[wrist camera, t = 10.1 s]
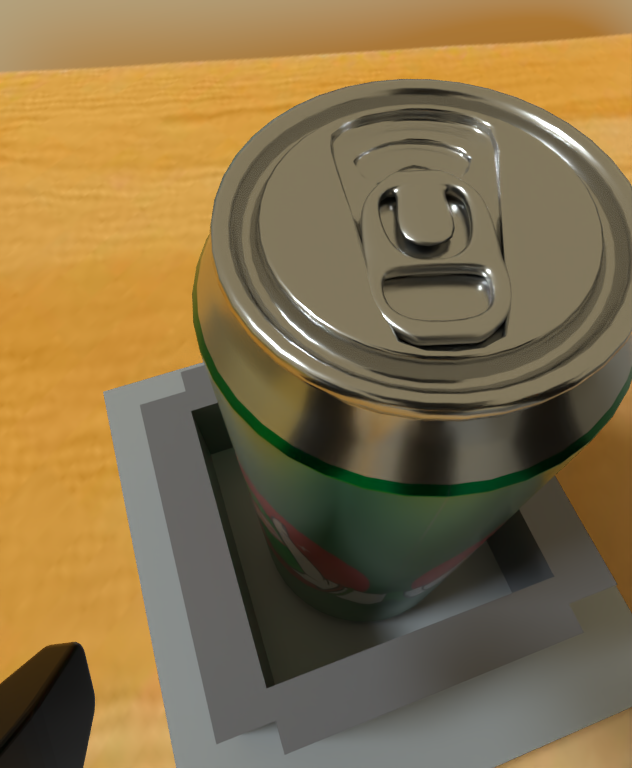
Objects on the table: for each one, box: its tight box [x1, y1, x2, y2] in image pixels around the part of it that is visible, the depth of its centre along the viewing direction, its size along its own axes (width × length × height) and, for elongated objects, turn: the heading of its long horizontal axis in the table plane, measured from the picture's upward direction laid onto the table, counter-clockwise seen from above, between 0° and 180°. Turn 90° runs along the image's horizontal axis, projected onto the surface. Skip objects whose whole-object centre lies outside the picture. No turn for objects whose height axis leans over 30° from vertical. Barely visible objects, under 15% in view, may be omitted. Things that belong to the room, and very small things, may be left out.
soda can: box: [192, 79, 632, 622], centre depth 11 cm, size 5×5×12 cm
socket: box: [103, 362, 632, 768], centre depth 15 cm, size 13×12×4 cm
